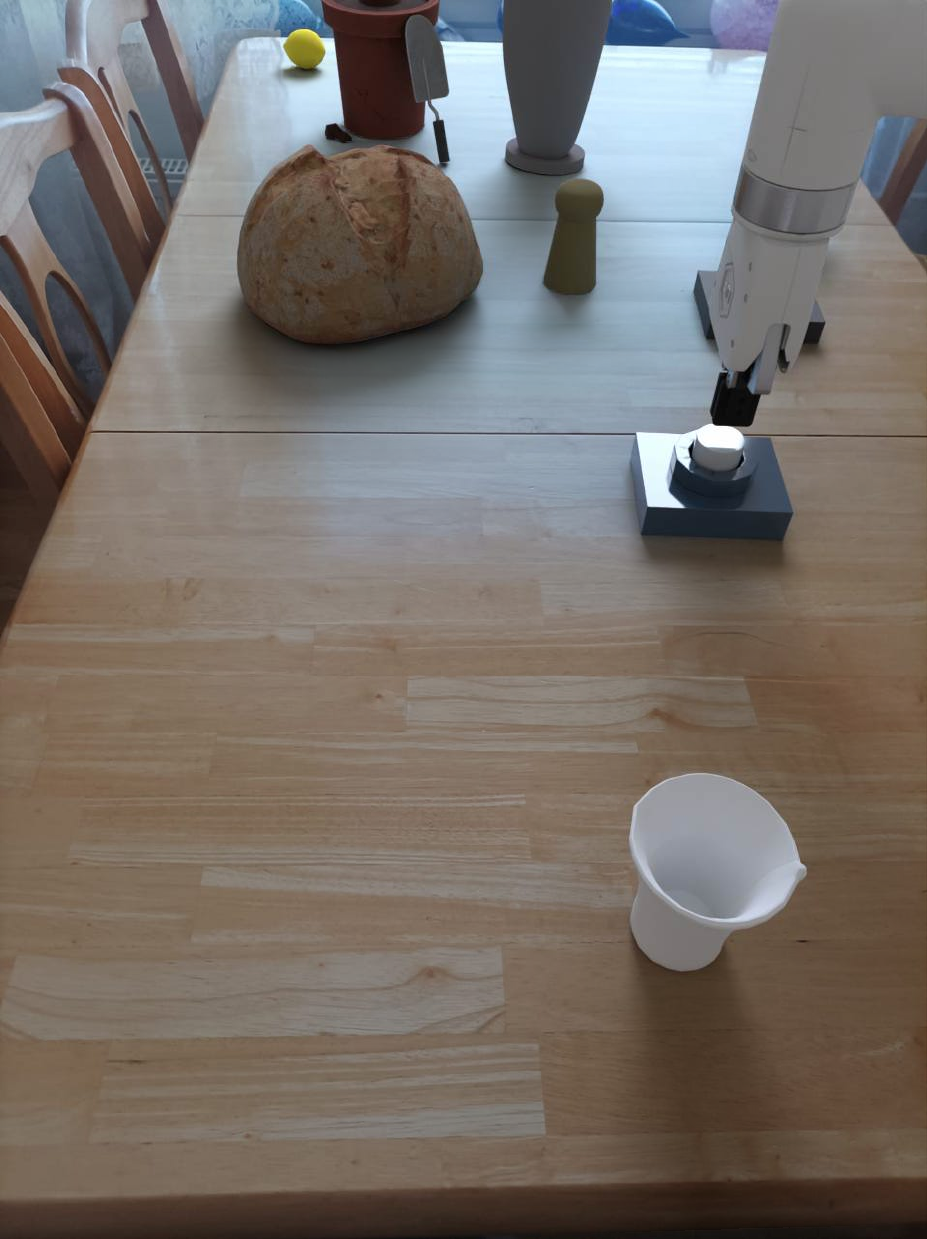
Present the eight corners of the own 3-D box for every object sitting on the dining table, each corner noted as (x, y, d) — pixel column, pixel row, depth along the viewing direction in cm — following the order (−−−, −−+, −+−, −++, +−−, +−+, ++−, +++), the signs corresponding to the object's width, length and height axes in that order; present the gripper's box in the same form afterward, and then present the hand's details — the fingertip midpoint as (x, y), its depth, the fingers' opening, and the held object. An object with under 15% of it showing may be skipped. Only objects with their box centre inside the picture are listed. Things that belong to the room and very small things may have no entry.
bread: (445, 232, 114) (447, 98, 102) (512, 332, 99) (523, 190, 88) (226, 260, 107) (203, 122, 96) (264, 372, 93) (241, 224, 82)
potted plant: (450, 105, 141) (454, -102, 122) (449, 166, 126) (453, -57, 108) (332, 101, 140) (317, -107, 121) (318, 162, 126) (299, -63, 107)
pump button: (735, 443, 80) (741, 424, 78) (743, 473, 77) (749, 454, 76) (688, 441, 80) (693, 422, 78) (694, 471, 77) (700, 452, 76)
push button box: (760, 465, 85) (776, 420, 82) (782, 541, 79) (800, 496, 75) (629, 460, 85) (639, 415, 82) (640, 535, 79) (651, 489, 75)
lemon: (332, 65, 150) (330, 26, 146) (320, 76, 147) (317, 37, 143) (292, 59, 151) (288, 21, 147) (278, 70, 148) (274, 32, 144)
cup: (743, 1024, 52) (796, 953, 45) (584, 962, 54) (609, 884, 47) (769, 887, 58) (820, 803, 50) (623, 835, 60) (652, 747, 53)
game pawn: (533, 274, 107) (542, 177, 99) (577, 263, 109) (590, 167, 101) (560, 299, 104) (571, 200, 96) (606, 287, 106) (621, 190, 98)
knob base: (798, 295, 106) (805, 273, 104) (818, 343, 99) (826, 321, 97) (693, 290, 106) (698, 268, 104) (705, 339, 99) (711, 316, 97)
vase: (588, 144, 132) (628, -178, 106) (595, 184, 124) (640, -155, 98) (495, 141, 132) (511, -182, 106) (495, 181, 124) (513, -160, 97)
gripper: (719, 146, 67) (672, 366, 81) (756, 247, 57) (696, 479, 71) (823, 148, 67) (759, 369, 81) (879, 250, 57) (795, 481, 71)
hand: (730, 420), depth 76 cm, fingers closed
